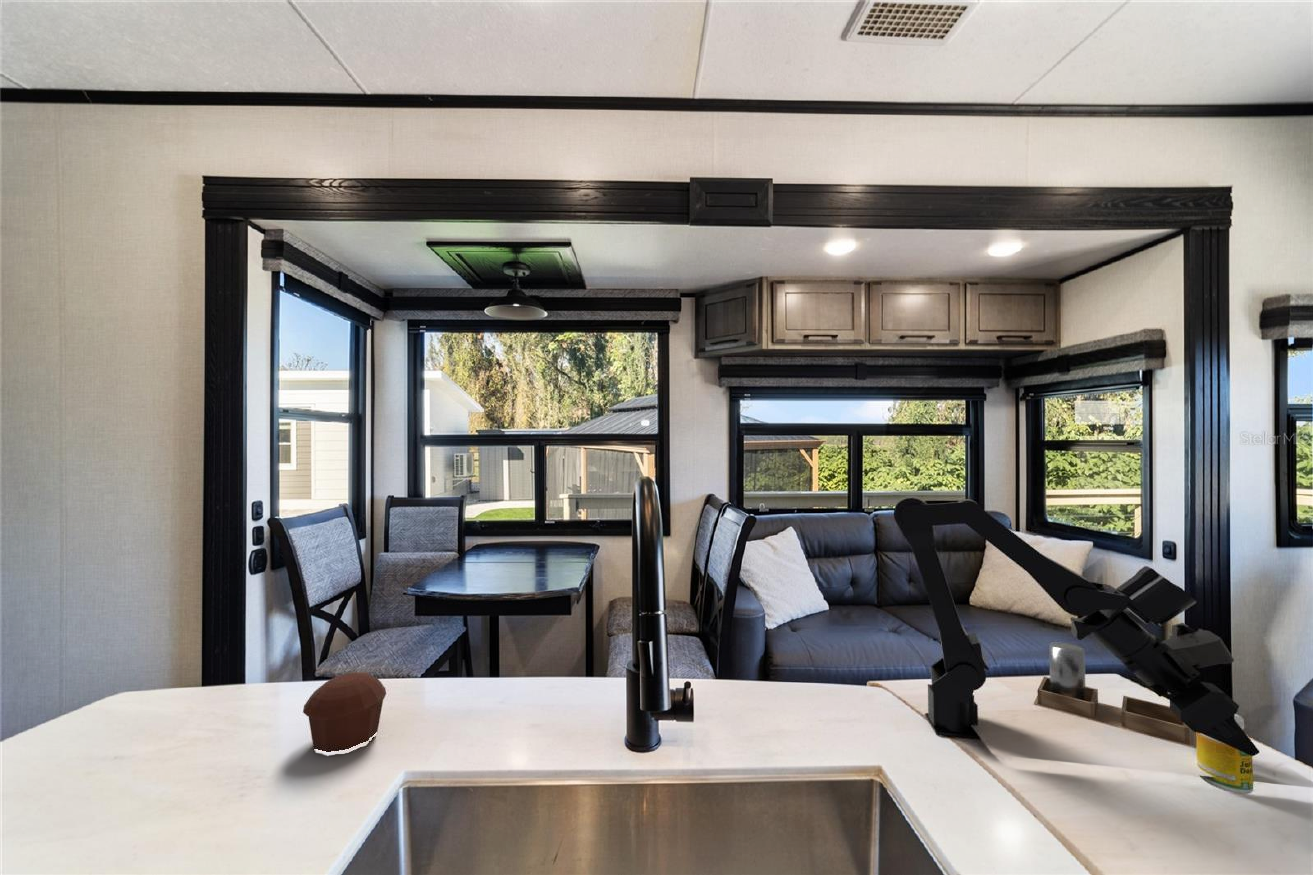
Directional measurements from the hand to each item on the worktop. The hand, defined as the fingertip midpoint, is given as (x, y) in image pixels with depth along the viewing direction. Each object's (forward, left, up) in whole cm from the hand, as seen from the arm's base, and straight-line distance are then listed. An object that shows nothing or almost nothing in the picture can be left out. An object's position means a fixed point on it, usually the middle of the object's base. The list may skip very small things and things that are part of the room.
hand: (1236, 737), depth 73 cm
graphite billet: (-11, +19, -5) cm, 23 cm away
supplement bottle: (-1, 0, -7) cm, 7 cm away
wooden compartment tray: (-7, +16, -7) cm, 18 cm away
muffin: (-131, -15, -7) cm, 132 cm away
